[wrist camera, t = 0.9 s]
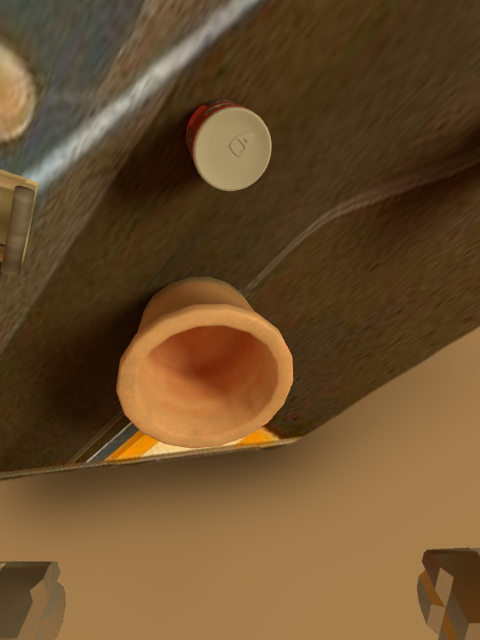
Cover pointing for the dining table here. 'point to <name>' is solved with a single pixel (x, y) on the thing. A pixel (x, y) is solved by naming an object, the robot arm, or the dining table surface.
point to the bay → (15, 219)
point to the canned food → (228, 144)
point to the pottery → (203, 366)
